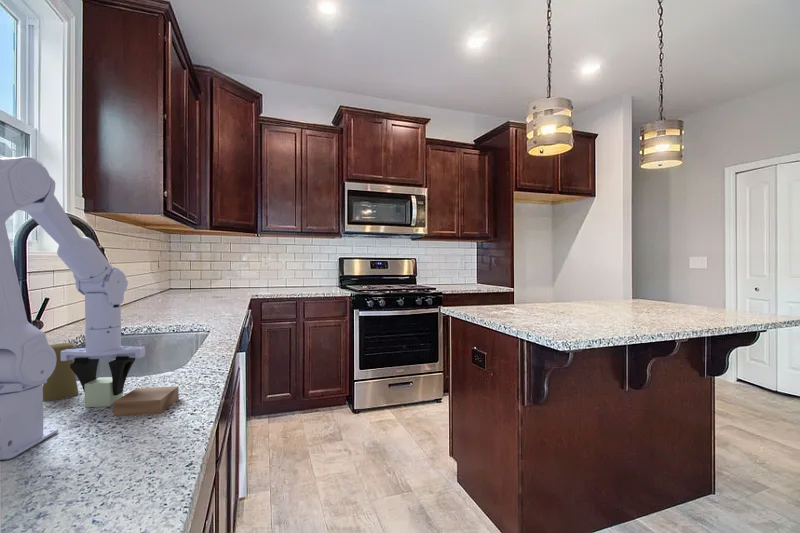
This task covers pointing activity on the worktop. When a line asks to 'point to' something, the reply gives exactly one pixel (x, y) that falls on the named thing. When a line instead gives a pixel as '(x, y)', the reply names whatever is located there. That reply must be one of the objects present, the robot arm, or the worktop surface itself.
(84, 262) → the robot arm
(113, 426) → the worktop surface
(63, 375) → the cork
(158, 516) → the worktop surface
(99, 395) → the sage cube
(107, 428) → the worktop surface
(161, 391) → the walnut block
